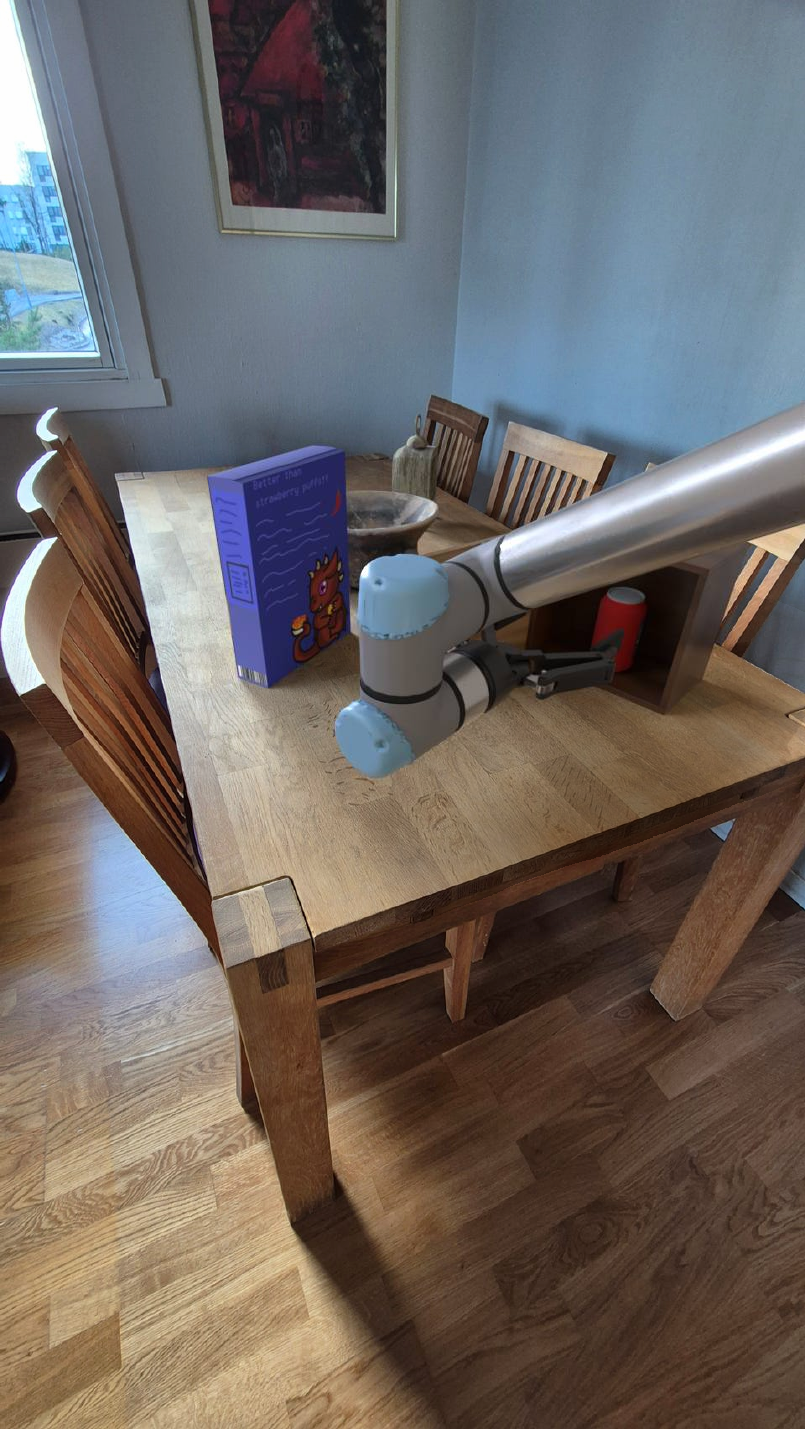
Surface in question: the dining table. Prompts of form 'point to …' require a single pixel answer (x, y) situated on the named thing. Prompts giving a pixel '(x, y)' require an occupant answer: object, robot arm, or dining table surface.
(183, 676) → the dining table surface
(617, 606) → the beverage can
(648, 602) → the cabinet
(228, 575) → the cereal box
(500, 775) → the dining table surface
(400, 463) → the grey bell
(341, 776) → the dining table surface
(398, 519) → the bowl
